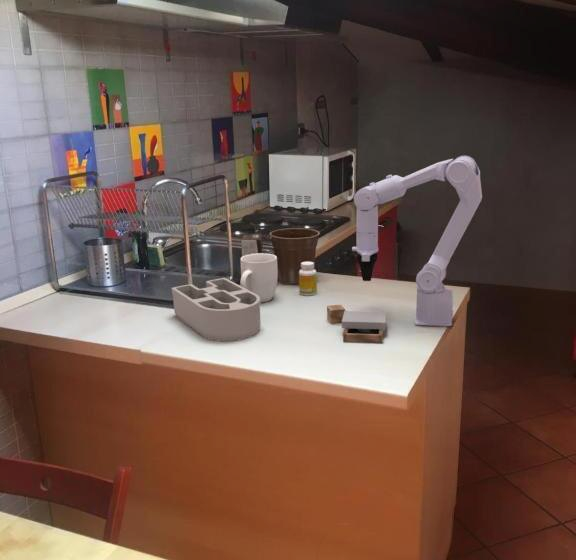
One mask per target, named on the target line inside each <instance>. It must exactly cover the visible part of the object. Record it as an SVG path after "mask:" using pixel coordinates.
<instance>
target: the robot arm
mask: <svg viewBox="0 0 576 560" xmlns="http://www.w3.org/2000/svg"><path fill="white" fill-rule="evenodd" d="M433 180H437V181H441V182H446V181H448V182H449V183H450V185H451V186H453V188H455V191H456V193H457V195H458V197H459V202H458V204H457V206H456V208H455V210H454V212H453V214H452V216H451V217H450V219H449V222H448V223H447V226H446V227H445V230H444V231H443V233H442V236H441V237H440V239H439V241H438V243H437V244H436V247H435V249H434V250H433V253H432V255H431V256H430V258H429V260H428V262H426V263H425V264H424V265H423V267H422V269H421V270H420V271H418V273H417V274H416V278H415V283H416V310H415V311H416V312H415V313H414V314H413V315H414V325H415V326H431V327H432V326H434V327H451V326H453V316H454V310H453V305H454V304H453V303H454V302H453V301H454V299H453V297H454V294H453V293H454V292H453V289H448V288H447V289H446V287H445V285H444V283H443V281H444V280H445V278H446V276H447V267H448V264H449V263H450V260H451V258H452V256H453V255H454V253H455V250H457V247H458V246H459V243H460V241H461V239H462V237H463V236H464V233H465V232H466V231H467V228H468V226H469V224H470V223H471V221H472V219H473V217H474V216H475V213H476V211H477V209H478V208H479V205H480V203H481V202H482V199H483V193H482V184H481V170H480V169H479V166H478V164H477V163H476V161H475V159H474V158H473V157H471V156H469V155H460V156H458V157H456V158H455V159H454V158H449V159H446V160H442V161H438V162H436V163H434V164H432V165H429V166H427V167H425V168H422V169H420V170H417V171H415V172H413V173H410V174H408V175H405V176H404V177H402V176H400V175H398V174H395V175H392V174H388V175H386V177H385V178H384V179H382V180H380V181H377V182H374V181H373V182H370V183H369V185H367V186H364V187H362V188H360V189H359V190H357V191H356V193H354V196H353V203H354V205H355V207H356V217H355V218H356V230H355V231H356V232H355V233H356V234H355V235H356V246H352V247H351V251H352V252H357V253H356V254H357V255H356V257H355V259H356V261H357V264H358V265H359V269H360V274H361V277H362V281H363V282H371V281H372V276H373V270H374V267H375V264H376V262H377V260H378V256H379V255H378V252H379V246H378V245H379V242H378V241H379V214H378V213H379V211H378V210H379V205H384V204H385V203H388V202H390V201H394V200H396V199H398V198H401V197H403V196H404V195H405V194H406V192H407V190H408V189H410V188H412V187H413V188H414V187H415V186H416V187H417V186H419V185H422V184H424V183H428V182H429V181H433Z"/></svg>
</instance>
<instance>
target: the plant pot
mask: <svg viewBox="0 0 576 560" xmlns="http://www.w3.org/2000/svg"><path fill="white" fill-rule="evenodd" d="M320 233H321V232H320V231H319V230H316V229H312V228H305V227H304V228H302V227H292V228H290V227H288V228H281V229H276V230H271V232H269V236H270V237H271V244H272V245H271V246H272V247H273V255H275V256H276V257H277V266H278V267H277V269H278V278H277V283H278V282H279V283H282V284H283V285H289V286H290V285H291V286H297V285H299V271H300V270H301V269H302V268H301V263H302V262H313V263H314V268H313V269H315V263H316V255H317V254H316V253H317V246H318V244H319V243H318V241H319V236H320Z"/></svg>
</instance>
